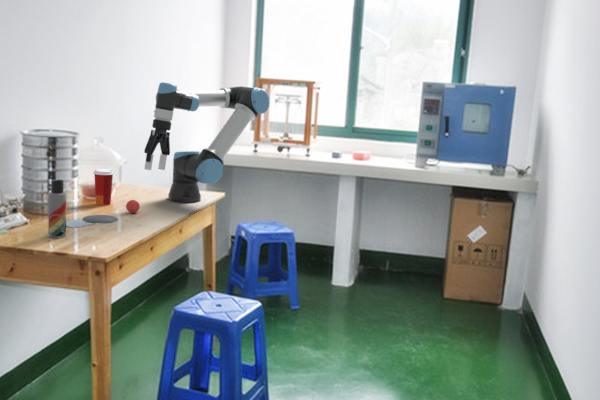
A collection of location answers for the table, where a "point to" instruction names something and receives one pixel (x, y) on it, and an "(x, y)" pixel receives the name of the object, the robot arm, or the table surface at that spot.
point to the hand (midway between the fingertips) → (154, 169)
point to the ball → (132, 206)
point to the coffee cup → (103, 186)
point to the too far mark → (77, 223)
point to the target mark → (100, 219)
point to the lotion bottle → (57, 210)
